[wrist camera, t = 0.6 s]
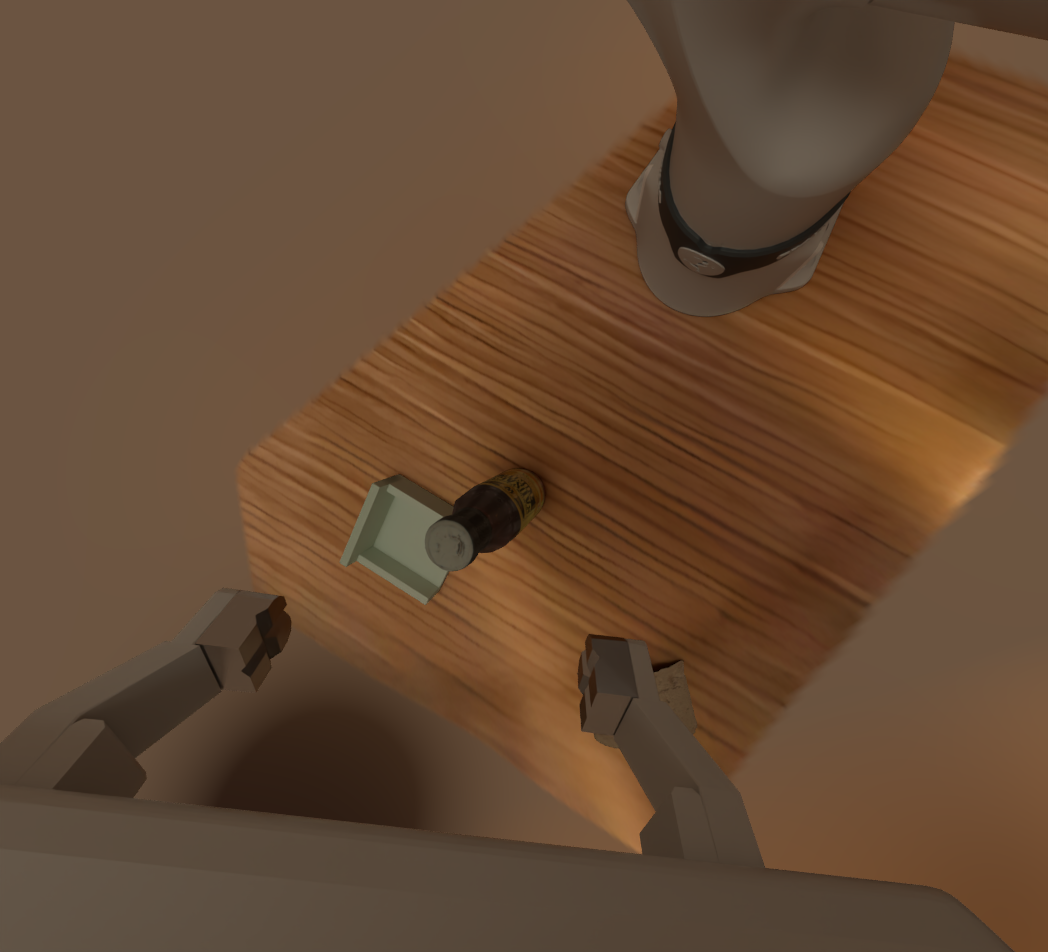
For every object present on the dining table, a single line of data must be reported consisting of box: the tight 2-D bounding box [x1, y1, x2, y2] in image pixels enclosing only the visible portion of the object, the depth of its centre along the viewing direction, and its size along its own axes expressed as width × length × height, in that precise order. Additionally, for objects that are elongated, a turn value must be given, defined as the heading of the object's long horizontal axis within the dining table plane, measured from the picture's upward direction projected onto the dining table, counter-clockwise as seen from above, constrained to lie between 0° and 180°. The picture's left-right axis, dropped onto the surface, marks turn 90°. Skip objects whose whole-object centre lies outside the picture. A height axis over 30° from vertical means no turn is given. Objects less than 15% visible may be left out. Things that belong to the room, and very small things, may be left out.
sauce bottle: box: [425, 468, 545, 571], centre depth 39 cm, size 6×6×20 cm
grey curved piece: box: [577, 661, 697, 748], centre depth 50 cm, size 14×10×3 cm
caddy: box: [340, 474, 454, 605], centre depth 50 cm, size 12×12×6 cm
